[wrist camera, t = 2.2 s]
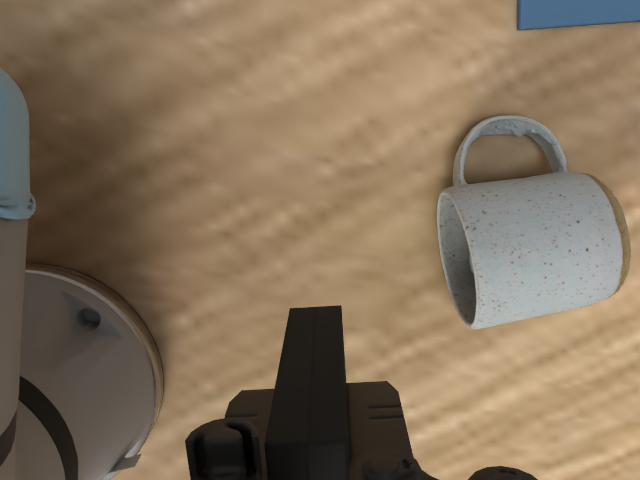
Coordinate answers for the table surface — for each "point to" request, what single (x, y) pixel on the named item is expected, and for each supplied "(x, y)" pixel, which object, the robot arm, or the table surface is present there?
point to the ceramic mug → (529, 236)
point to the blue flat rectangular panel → (575, 13)
